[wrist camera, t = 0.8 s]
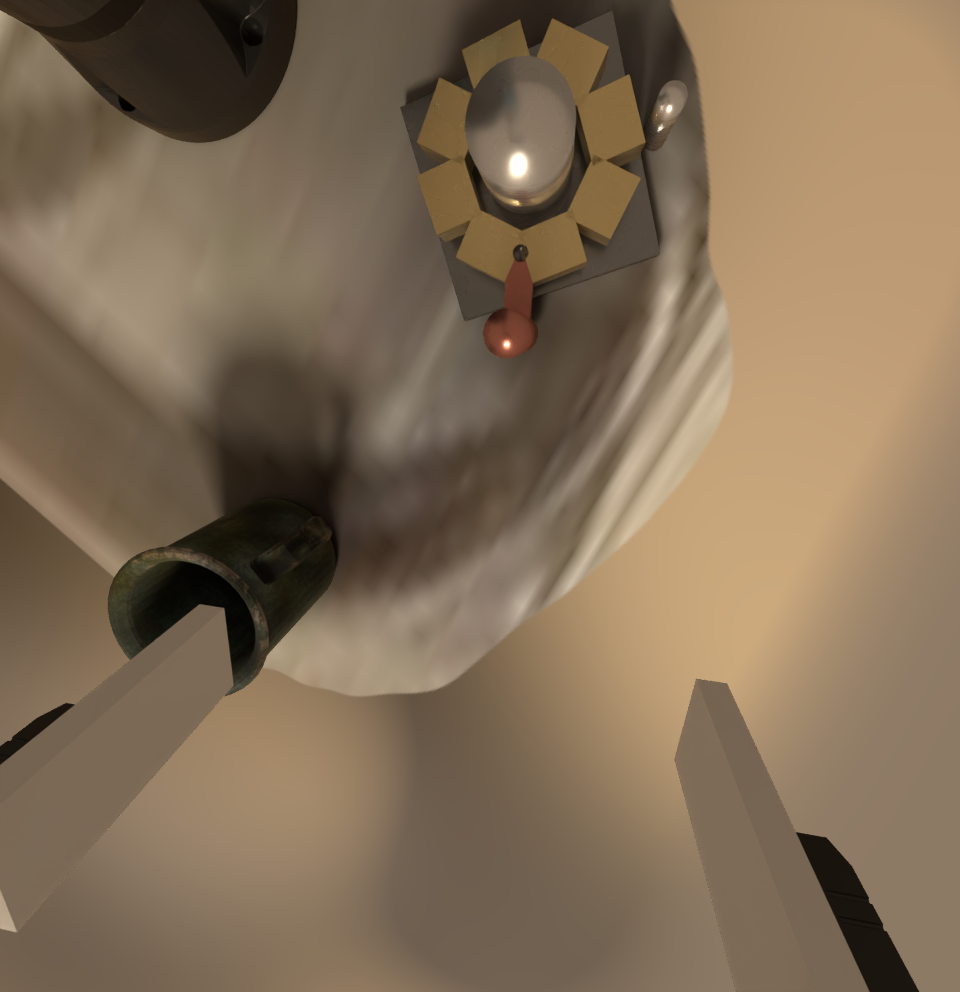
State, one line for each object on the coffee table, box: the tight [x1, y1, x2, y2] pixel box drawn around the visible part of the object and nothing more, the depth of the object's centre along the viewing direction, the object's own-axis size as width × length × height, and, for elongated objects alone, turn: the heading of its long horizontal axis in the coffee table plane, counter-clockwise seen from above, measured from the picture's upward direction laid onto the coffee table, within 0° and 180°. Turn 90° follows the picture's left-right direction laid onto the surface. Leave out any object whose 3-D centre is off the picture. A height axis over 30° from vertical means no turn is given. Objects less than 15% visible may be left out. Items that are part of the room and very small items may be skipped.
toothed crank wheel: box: [417, 18, 646, 358], centre depth 27 cm, size 16×12×8 cm
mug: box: [108, 498, 336, 696], centre depth 37 cm, size 11×15×12 cm
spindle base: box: [400, 10, 688, 321], centre depth 27 cm, size 13×15×10 cm
